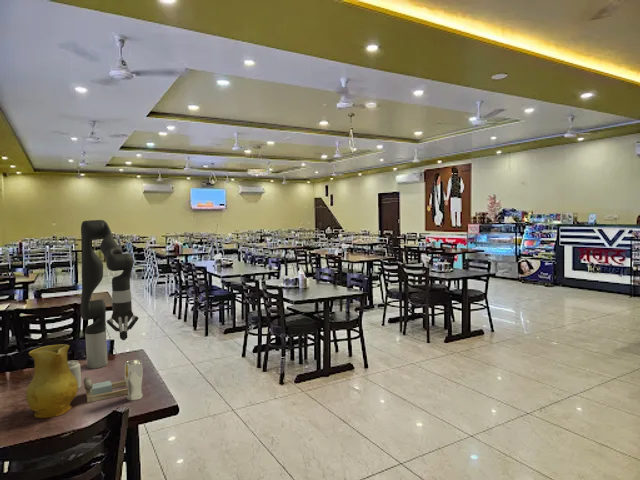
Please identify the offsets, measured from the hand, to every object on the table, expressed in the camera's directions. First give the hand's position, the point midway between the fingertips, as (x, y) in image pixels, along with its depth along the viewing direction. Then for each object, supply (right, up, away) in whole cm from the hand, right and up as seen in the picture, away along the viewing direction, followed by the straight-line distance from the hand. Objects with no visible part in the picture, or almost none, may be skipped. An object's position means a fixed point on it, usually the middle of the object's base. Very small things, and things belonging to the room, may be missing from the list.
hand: (123, 339), depth 183 cm
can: (-24, -22, +3) cm, 33 cm away
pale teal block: (-8, -23, -3) cm, 24 cm away
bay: (-6, -22, -2) cm, 23 cm away
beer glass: (+8, -23, -7) cm, 25 cm away
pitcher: (-20, -24, -17) cm, 35 cm away
